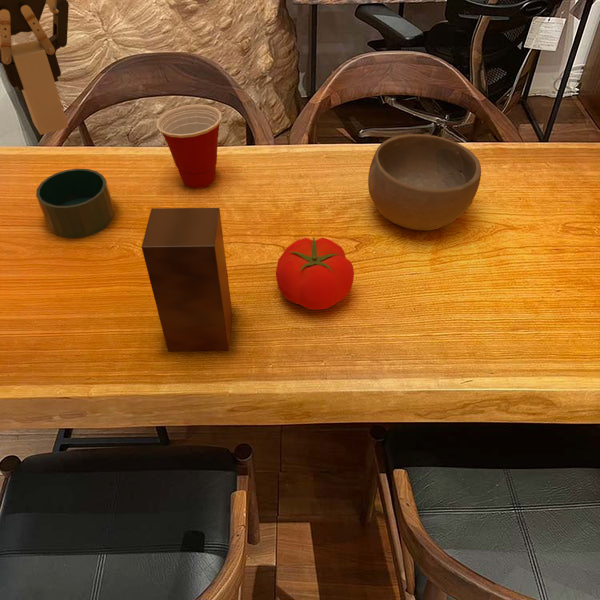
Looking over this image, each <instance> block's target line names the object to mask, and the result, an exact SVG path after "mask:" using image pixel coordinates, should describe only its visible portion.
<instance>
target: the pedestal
mask: <svg viewBox="0 0 600 600" xmlns="http://www.w3.org/2000/svg"><path fill="white" fill-rule="evenodd" d="M220 209H221V208H220V207H166V208H165V207H161V208H160V207H156V208H155V207H154V208H151V209H150V213H149V215H148V216H149V217H148V221H147V225H146V227H145V232H144V236H143V239H142V243H141V252H142V255H143V259H144V262H145V263H144V264H145V266H146V271H147V275H148V279H149V282H150V283H149V284H150V286H151V290H152V294H153V298H154V302H155V305H156V311H157V315H158V317H159V321H160V326H161V330H162V333H163V337H164V342H165V346H166V350H167V352H206V351H207V352H217V351H218V352H222V351H226V352H227V351H229V350H230V343H231V342H230V341H231V329H232V317H233V309H232V308H233V307H232V301H231V299H232V298H231V292H230V285H229V275H228V266H227V259H226V258H227V257H226V251H225V241H224V233H223V226H222V218H221V210H220Z"/></svg>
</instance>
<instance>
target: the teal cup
mask: <svg viewBox="0 0 600 600" xmlns="http://www.w3.org/2000/svg"><path fill="white" fill-rule="evenodd" d="M35 195H36V196H35V197H36V199H37V202H38V204H39V206H40V209H41V212H42V214H43V217H44V219H45V222H46V224H47V226H48V228H49V230H50V231H51V232H52V233H53V234H54V235H56V236H58V237H61V238H65V239H81V238H86V237H89V236H94V235H96V234H98V233H100V232H102V231H103V230H105V229H106V228H108V227H109V225H110V224H111V223H112V222H113V220H114V218H115V207H114V203H113V199H112V196H111V193H110V189H109V185H108V182H107V179H106V178H105V176H104V174H102V173H100V171H99V172H98V171H97V170H93V169H90V168H72V169H65V170H61V171H59V172H56V173H54V174H51V175H49V176H48V177H46V178H45V179H44V180H43V181H41V182H40V183H39V185H38V187H37V188H36V193H35Z"/></svg>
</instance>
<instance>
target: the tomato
mask: <svg viewBox="0 0 600 600" xmlns="http://www.w3.org/2000/svg"><path fill="white" fill-rule="evenodd" d="M354 269H355V268H354V266H353V264H352V262H351V260H349V259H348V258H346V253H345V250H344V248H343V247H342V246H341V245H339V244H338V243H336V242H334V241H333V240H331V239H329V238H325V237H320V238H318V239H315V236H313V238H312V239H310V238H308V237H304V238H301V239H297V240H296V241H294V242H292V243H291V244H289V245H288V246H287V247H286V248H285V249H284V251H283V253H282V254H281V255H280V256H279V258H278V260H277V264H276V269H275V279H276V283H277V288H278V290H279V291H280V292H281V294H282V295H283V296H284V297H285V299H286V300H288V301H290V302H291V303H293V304H295V305H296V304H297V305H301V306H302V307H304V308H305V309H307V310H314V311H317V310H327V309H329V308H331V307H333V306H334V305H336V304H337V303H340V302H341V301H343V300H345V298H346V297H347V296H348V295H349V292H350V291H351V289H352V287H353V283H354V276H355V271H354Z"/></svg>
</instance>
